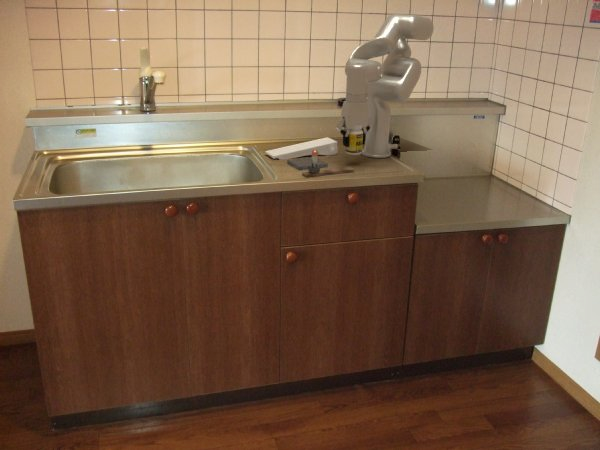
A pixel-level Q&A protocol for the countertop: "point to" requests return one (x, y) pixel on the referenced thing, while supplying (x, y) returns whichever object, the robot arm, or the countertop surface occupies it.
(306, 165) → the press bed
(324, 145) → the wall bracket
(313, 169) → the press lever
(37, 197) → the countertop surface
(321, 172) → the lever rail
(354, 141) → the supplement bottle
